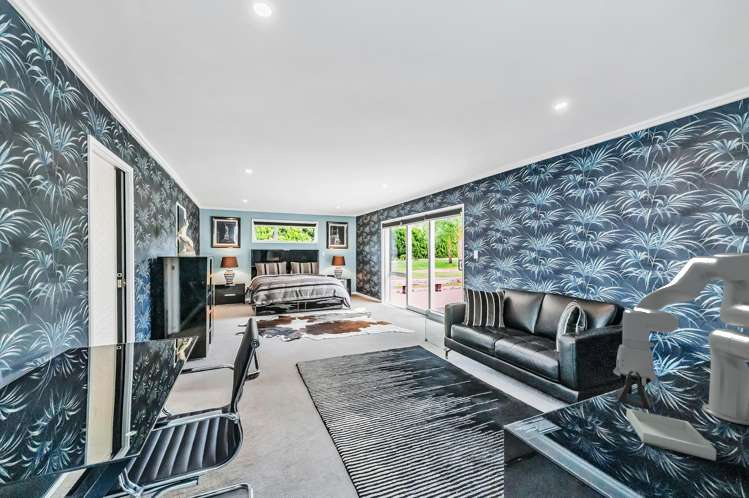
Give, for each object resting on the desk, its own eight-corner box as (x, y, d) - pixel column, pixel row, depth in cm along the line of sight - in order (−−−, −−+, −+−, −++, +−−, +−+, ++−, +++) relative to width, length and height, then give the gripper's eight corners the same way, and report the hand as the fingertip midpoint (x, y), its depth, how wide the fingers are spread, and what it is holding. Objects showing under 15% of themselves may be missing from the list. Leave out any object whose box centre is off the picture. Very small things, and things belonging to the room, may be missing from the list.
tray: (687, 430, 102) (687, 421, 102) (715, 460, 87) (716, 450, 87) (626, 416, 109) (626, 408, 109) (642, 442, 94) (643, 432, 94)
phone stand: (650, 404, 113) (651, 371, 113) (650, 410, 108) (651, 376, 108) (619, 396, 119) (619, 364, 119) (617, 401, 114) (618, 369, 114)
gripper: (660, 344, 113) (659, 394, 113) (606, 338, 121) (605, 385, 120) (668, 350, 107) (667, 403, 107) (610, 343, 114) (609, 393, 114)
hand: (634, 393), depth 114 cm, fingers closed on phone stand, 2 cm apart
